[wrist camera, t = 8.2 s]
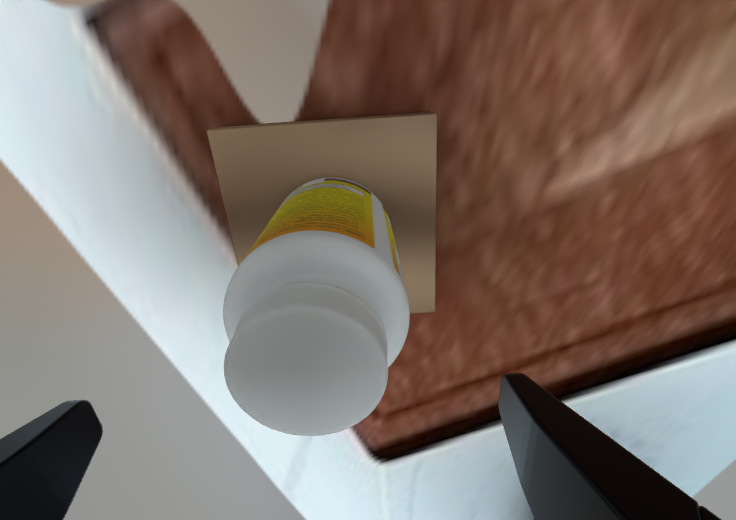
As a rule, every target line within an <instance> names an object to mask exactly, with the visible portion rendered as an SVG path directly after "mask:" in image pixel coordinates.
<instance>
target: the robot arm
mask: <svg viewBox="0 0 736 520" xmlns="http://www.w3.org/2000/svg"><path fill="white" fill-rule="evenodd" d="M499 412H500V416H501V419H502V422H503V426H504V429H505V433H506V436H507V439H508V443H509V446H510V450H511V453H512V456H513V460H514V463H515V467H516V470H517V473H518V477H519V480H520V483H521V486H522V489H523V491H524V494H525V496H526V499H527V501H528V504H529V506H530V509H531V511H532V514H533V516H534V519H535V520H721V519H720V518H718V517H717V516H716V515H715V514H713V513H712V512H710V511H709V510H708V509H706V508H705V507H703V506H699V505H698V503H697V502H696V501H695V500H694V499H693V498H691V497H690V496H688V495H687V494H686V493H684V492H683V491H682V490H680V489H679V488H678V487H676V486H675V485H674V484H672V483H671V482H670V481H668V480H667V479H665V478H664V477H663V476H661V475H660V474H659V473H657V472H656V471H655V470H653V469H652V468H651V467H649V466H648V465H646V464H645V463H644V462H642V461H641V460H640V459H638V458H637V457H636V456H634V455H633V454H632V453H630V452H629V451H627V450H626V449H625V448H623V447H622V446H621V445H619V444H618V443H617V442H615V441H614V440H613V439H611V438H610V437H608V436H607V435H606V434H604V433H603V432H602V431H600V430H599V429H598V428H596V427H595V426H594V425H592V424H591V423H590V422H588V421H587V420H585V419H584V418H583V417H581V416H580V415H579V414H577V413H576V412H575V411H573V410H572V409H571V408H569V407H568V406H566V405H565V404H564V403H562V402H561V401H560V400H558V399H557V398H556V397H554V396H553V395H552V394H550V393H549V392H547V391H546V390H545V389H543V388H542V387H541V386H539V385H538V384H537V383H535V382H534V381H533V380H531V379H530V378H528V377H527V376H526V375H524V374H522V373H508V374H504V375H502V378H501V384H500V393H499ZM102 432H103V430H102V425H101V423H100V421H99V419H98V417H97V415H96V413H95V411H94V409H93V406H92V405H91V403H90V402H89V401H87V400H73V401H66V402H64V403H62V404H60V405H58V406H57V407H55V408H53V409H51V410H50V411H48V412H46V413H45V414H43V415H41V416H40V417H38V418H36V419H34V420H33V421H31V422H29V423H27V424H26V425H24V426H22V427H21V428H19V429H17V430H15V431H14V432H12V433H11V434H8V435H7V436H5V437H3V438H2V439H0V520H63V519H64V517H65V515H66V513H67V511H68V509H69V507H70V505H71V503H72V501H73V499H74V497H75V494H76V492H77V490H78V488H79V486H80V483H81V481H82V479H83V477H84V474H85V472H86V470H87V468H88V466H89V464H90V462H91V459H92V457H93V455H94V453H95V451H96V448H97V446H98V444H99V442H100V440H101V437H102Z"/></svg>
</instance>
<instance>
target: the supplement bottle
mask: <svg viewBox="0 0 736 520" xmlns="http://www.w3.org/2000/svg"><path fill="white" fill-rule="evenodd" d="M223 317H224V325H225V329H226V333H227V336H228V338H229V341H230V343H229V346H228V348H227V351H226V355H225V360H224V375H225V380H226V384H227V387H228V389H229V391H230V393H231V395H232V397H233V398H234V400H235V401H236V403H237V404H238V405H239V406H240V407H241V408H242V409H243V410H244V411H245V412H246V413H247V414H248V415H249V416H251V417H252V418H253V419H255V420H256V421H258V422H259V423H261V424H263V425H265V426H267V427H269V428H271V429H274V430H277V431H280V432H284V433H287V434H293V435H302V436H320V435H326V434H331V433H336V432H339V431H342V430H345V429H347V428H349V427H351V426H353V425H355V424H357V423H359V422H360V421H361V420H363V419H364V418H365V417H367V416H368V415H369V414H370V413H371V412H372V411H373V410H374V409H375V407H376V406H377V405H378V403H379V402H380V400H381V398H382V396H383V394H384V391H385V388H386V385H387V379H388V367H389V366H390V365H391V364H392V363H393V362H394V360H395V359H396V358H397V356H398V354H399V353H400V351H401V349H402V347H403V345H404V343H405V340H406V337H407V333H408V328H409V319H410V315H409V303H408V297H407V292H406V288H405V283H404V279H403V274H402V270H401V265H400V261H399V256H398V251H397V247H396V243H395V239H394V235H393V231H392V227H391V223H390V219H389V216H388V214H387V212H386V210H385V208H384V206H383V205H382V203H381V202H380V200H379V199H378V198H377V197H376V196H375V195H374V194H373V193H372V192H371V191H369V190H368V189H367V188H365V187H363V186H362V185H360V184H358V183H356V182H353V181H350V180H346V179H342V178H334V177H330V178H320V179H316V180H313V181H310V182H307V183H305V184H303V185H301V186H300V187H298V188H297V189H295V190H294V191H293V192H292V193H291V194H290V195H289V196H288V197H287V198H286V199H285V200H284V201H283V203H282V204H281V206H280V207H279V209H278V210H277V211H276V213H275V214H274V216H273V217H272V219H271V220H270V222H269V223H268V224H267V226H266V227H265V229H264V230H263V232H262V233H261V234H260V236H259V237H258V239H257V240H256V242H255V243H254V245H253V246H252V248H251V249H250V251H249V252H248V253H247V255H246V256H245V258H244V259H243V261H242V262H241V264H240V265H239V267H238V268H237V270H236V271H235V273H234V275H233V277H232V278H231V281H230V283H229V285H228V288H227V291H226V294H225V299H224V307H223Z"/></svg>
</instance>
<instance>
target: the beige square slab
mask: <svg viewBox="0 0 736 520" xmlns="http://www.w3.org/2000/svg"><path fill="white" fill-rule="evenodd" d="M207 134H208V138H209V143H210V147H211V151H212V156H213V160H214V164H215V169H216V173H217V177H218V182H219V186H220V190H221V195H222V199H223V203H224V208H225V212H226V216H227V221H228V225H229V229H230V234H231V238H232V242H233V247H234V251H235V255H236V260H237V264H238V267H239V265H240V264H241V262H242V261H243V259H244V258H245V256H246V255H247V253H248V252H249V251H250V249H251V248H252V246H253V245H254V243H255V242H256V240H257V239H258V237H259V236H260V234H261V233H262V232H263V230H264V229H265V227H266V226H267V224H268V223H269V222H270V220H271V219H272V217H273V216H274V214H275V213H276V211H277V210H278V209H279V207H280V206H281V204H282V203H283V201H284V200H285V199H286V198H287V197H288V196H289V195H290V194H291V193H292V192H293V191H294V190H295V189H297V188H298V187H300V186H301V185H303V184H305V183H307V182H310V181H313V180H316V179H320V178H330V177H334V178H342V179H346V180H350V181H353V182H356V183H358V184H360V185H362V186H363V187H365V188H367V189H368V190H369V191H371V192H372V193H373V194H374V195H375V196H376V197H377V198H378V199H379V200H380V202H381V203H382V205H383V206H384V208H385V210H386V212H387V214H388V216H389V219H390V223H391V227H392V231H393V235H394V239H395V243H396V247H397V251H398V256H399V261H400V265H401V270H402V274H403V279H404V283H405V288H406V292H407V297H408V303H409V314H411V313H427V312H435V259H436V151H437V114H435V113H431V112H421V113H407V114H393V115H379V116H365V117H351V118H337V119H323V120H309V121H295V122H282V123H267V124H253V125H239V126H225V127H219V128H215V129H211V130H207Z"/></svg>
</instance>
